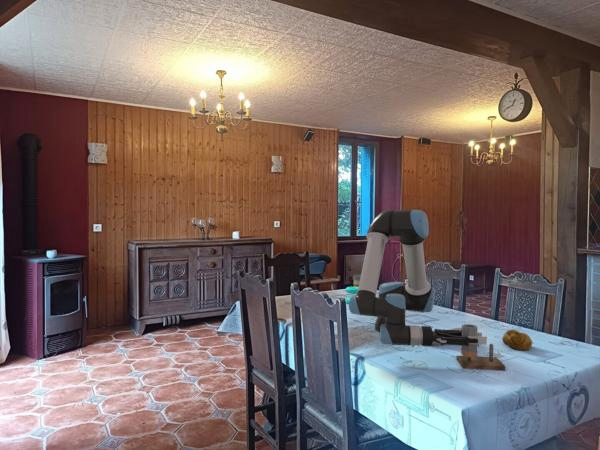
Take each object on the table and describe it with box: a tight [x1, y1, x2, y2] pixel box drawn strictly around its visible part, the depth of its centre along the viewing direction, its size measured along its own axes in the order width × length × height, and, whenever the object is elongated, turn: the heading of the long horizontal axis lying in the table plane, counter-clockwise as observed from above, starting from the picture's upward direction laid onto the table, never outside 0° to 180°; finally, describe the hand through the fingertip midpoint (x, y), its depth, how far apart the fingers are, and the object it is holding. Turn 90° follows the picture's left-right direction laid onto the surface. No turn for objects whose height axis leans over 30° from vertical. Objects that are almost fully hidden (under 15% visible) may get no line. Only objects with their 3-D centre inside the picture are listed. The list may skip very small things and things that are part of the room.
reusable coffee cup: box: [352, 273, 361, 295], centre depth 291 cm, size 13×13×15 cm
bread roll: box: [501, 329, 533, 351], centre depth 184 cm, size 13×10×8 cm
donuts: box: [345, 286, 358, 305], centre depth 272 cm, size 10×10×10 cm
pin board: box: [456, 343, 507, 371], centre depth 162 cm, size 15×10×8 cm, turn 83°
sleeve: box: [460, 323, 478, 357], centre depth 162 cm, size 5×5×11 cm
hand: (483, 338), depth 162 cm, fingers closed on sleeve, 5 cm apart
